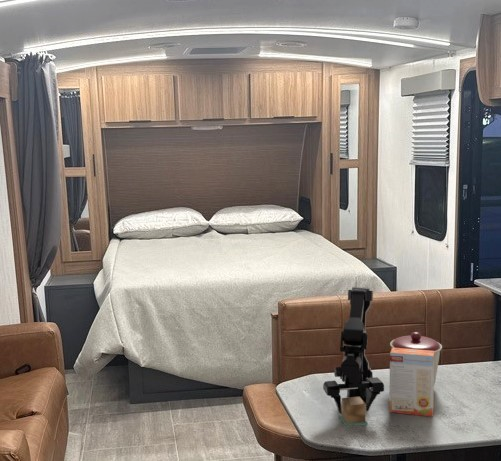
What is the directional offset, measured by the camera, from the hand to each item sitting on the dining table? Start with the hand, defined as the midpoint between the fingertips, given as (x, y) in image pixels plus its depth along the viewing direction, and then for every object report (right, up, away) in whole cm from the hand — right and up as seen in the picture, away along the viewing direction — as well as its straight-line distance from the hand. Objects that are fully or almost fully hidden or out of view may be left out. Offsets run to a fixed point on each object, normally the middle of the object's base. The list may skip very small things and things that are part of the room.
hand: (353, 411), depth 202 cm
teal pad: (0, -3, 0) cm, 3 cm away
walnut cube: (0, -2, 0) cm, 2 cm away
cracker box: (+20, -2, +6) cm, 21 cm away
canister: (+27, +1, +25) cm, 37 cm away
